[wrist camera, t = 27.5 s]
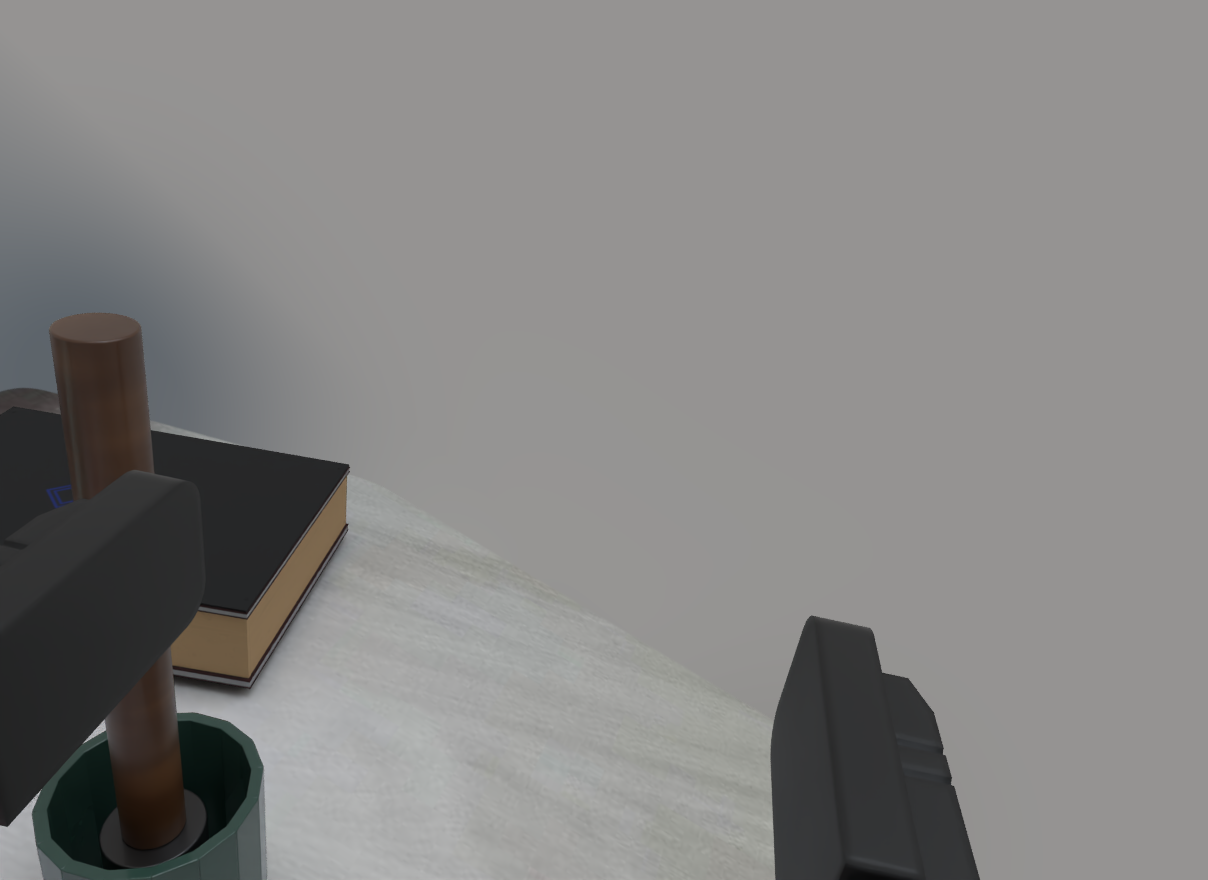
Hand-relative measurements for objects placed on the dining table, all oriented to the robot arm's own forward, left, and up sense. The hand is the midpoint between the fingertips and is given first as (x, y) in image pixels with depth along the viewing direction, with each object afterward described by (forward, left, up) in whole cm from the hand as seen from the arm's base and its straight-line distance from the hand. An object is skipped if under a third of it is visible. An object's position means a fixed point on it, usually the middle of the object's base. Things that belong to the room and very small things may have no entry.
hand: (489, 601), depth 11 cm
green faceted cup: (+10, -18, -33) cm, 39 cm away
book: (+18, -44, -33) cm, 58 cm away
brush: (+10, -18, -32) cm, 38 cm away
